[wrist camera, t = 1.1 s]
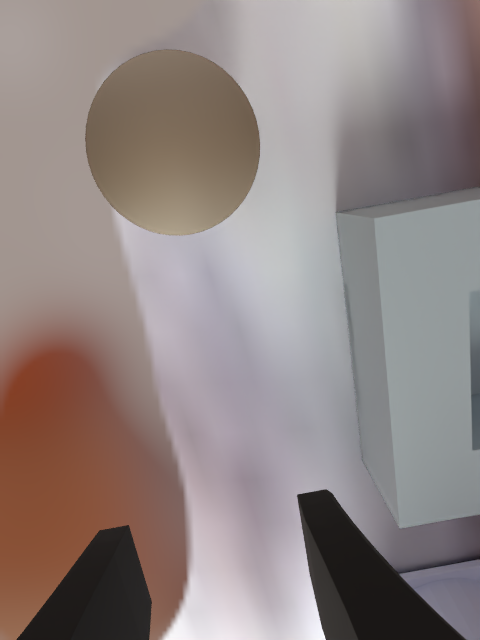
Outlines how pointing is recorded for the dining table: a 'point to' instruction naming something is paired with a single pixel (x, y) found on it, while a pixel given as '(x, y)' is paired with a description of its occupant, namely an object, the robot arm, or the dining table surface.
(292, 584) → the dining table surface
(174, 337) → the dining table surface
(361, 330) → the socket block
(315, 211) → the dining table surface
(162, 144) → the tan wooden peg
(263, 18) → the dining table surface
